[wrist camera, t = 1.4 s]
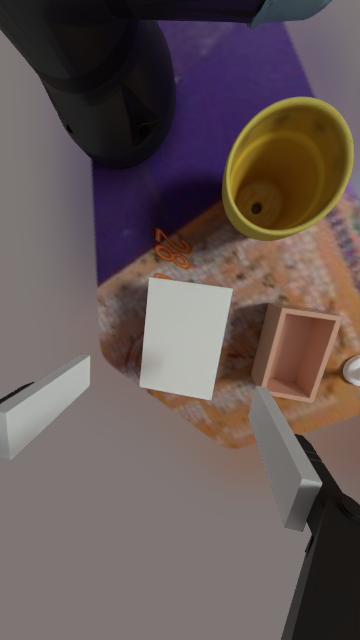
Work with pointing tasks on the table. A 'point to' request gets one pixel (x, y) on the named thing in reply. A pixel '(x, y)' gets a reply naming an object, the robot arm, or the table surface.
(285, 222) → the plant pot
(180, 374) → the board
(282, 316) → the open box
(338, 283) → the table surface
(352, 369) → the chess piece
